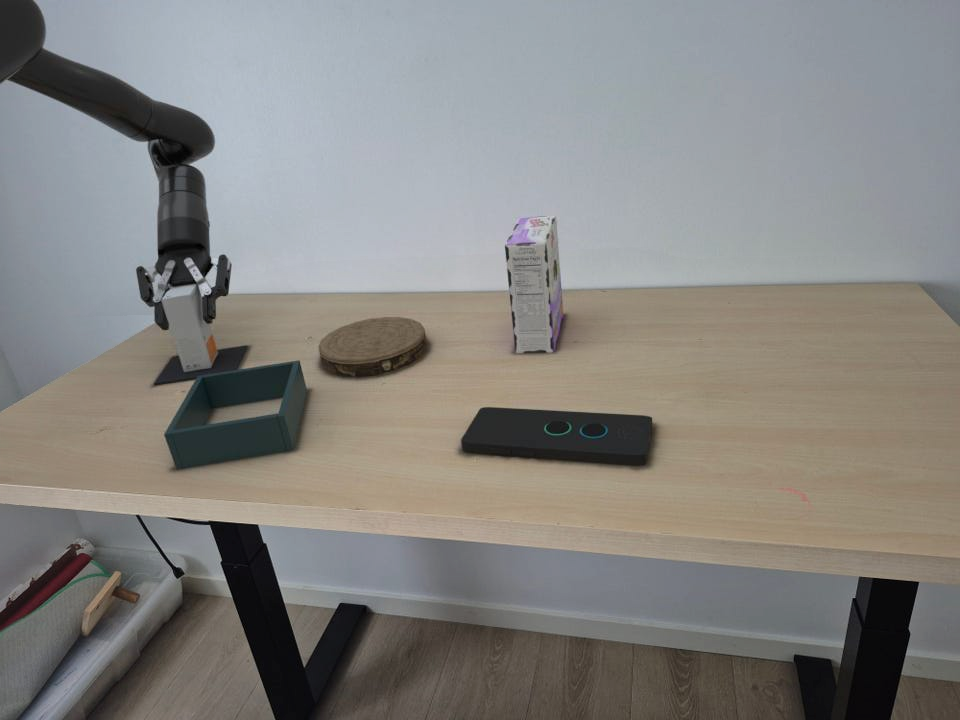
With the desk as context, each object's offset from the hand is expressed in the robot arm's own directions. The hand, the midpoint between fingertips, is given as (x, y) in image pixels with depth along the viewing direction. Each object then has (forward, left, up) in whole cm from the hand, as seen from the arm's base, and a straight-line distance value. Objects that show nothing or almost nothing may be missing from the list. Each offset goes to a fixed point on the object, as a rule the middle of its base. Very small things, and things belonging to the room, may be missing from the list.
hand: (185, 324), depth 104 cm
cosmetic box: (0, +2, -7) cm, 8 cm away
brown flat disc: (+27, -4, -8) cm, 29 cm away
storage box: (+11, -21, -8) cm, 25 cm away
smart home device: (+48, -36, -8) cm, 60 cm away
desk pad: (0, +2, -8) cm, 8 cm away
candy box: (+52, -6, -8) cm, 53 cm away
